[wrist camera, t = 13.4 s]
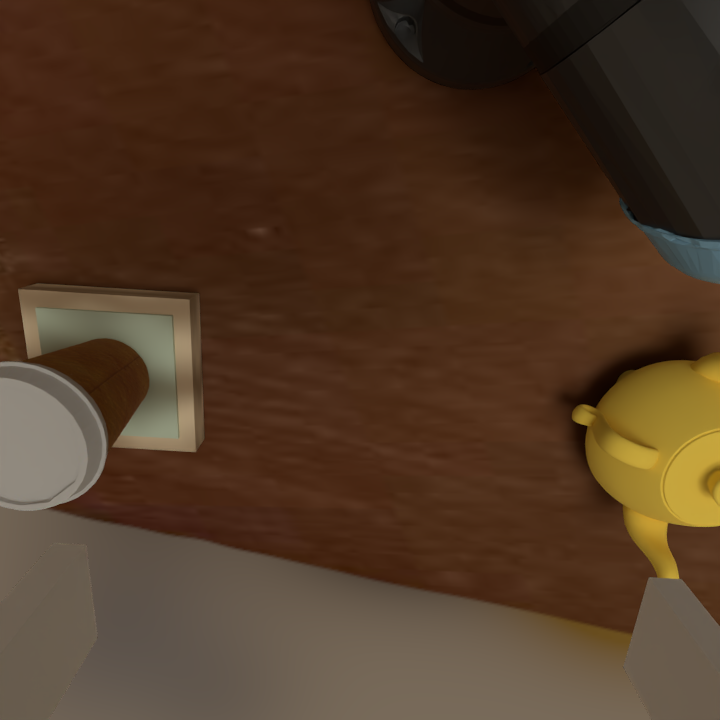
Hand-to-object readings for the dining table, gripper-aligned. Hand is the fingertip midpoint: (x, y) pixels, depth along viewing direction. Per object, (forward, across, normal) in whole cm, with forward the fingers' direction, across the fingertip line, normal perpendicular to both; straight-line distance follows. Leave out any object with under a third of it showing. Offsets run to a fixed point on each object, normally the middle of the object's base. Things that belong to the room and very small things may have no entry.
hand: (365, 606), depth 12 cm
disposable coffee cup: (+29, -20, -6) cm, 36 cm away
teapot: (+32, +24, -8) cm, 41 cm away
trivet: (+32, -20, -6) cm, 38 cm away
